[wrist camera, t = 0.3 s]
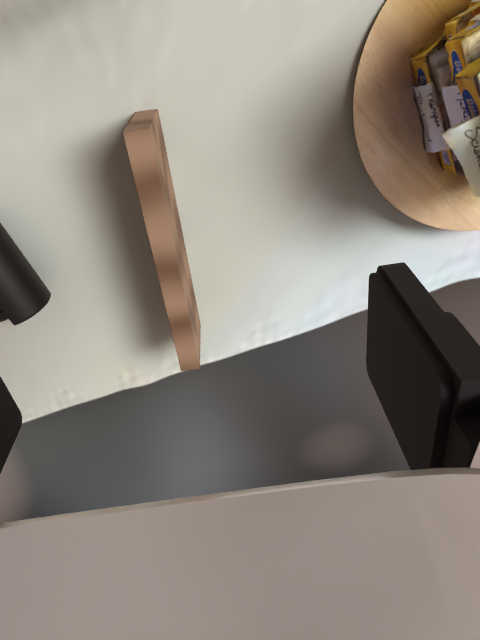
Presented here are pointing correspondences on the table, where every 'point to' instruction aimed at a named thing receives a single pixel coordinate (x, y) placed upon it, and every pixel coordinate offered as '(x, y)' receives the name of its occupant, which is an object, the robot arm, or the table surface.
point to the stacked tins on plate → (423, 110)
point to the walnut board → (164, 232)
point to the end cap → (18, 284)
